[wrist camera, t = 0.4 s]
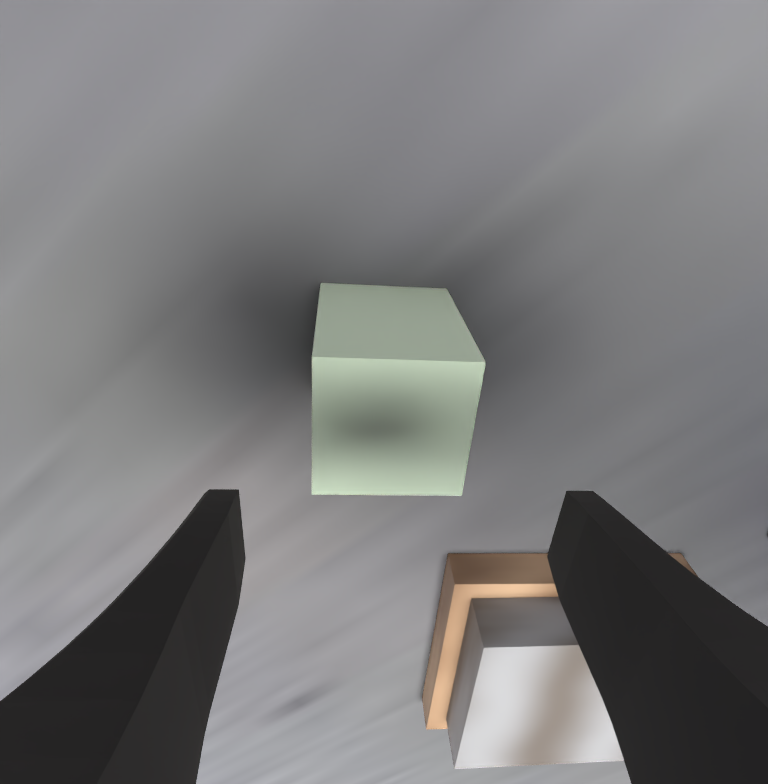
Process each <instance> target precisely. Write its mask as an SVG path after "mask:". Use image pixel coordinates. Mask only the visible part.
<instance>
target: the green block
mask: <svg viewBox="0 0 768 784" xmlns="http://www.w3.org/2000/svg"><path fill="white" fill-rule="evenodd" d="M485 365H486V362H485V360H484V358H483V356H482V354H481V352H480V350H479V348H478V347H477V345H476V343H475V341H474V339H473V337H472V335H471V333H470V331H469V330H468V328H467V326H466V324H465V322H464V320H463V318H462V316H461V314H460V313H459V311H458V309H457V307H456V305H455V303H454V301H453V299H452V297H451V296H450V294H449V292H448V290H447V289H445V288H423V287H401V286H379V285H357V284H336V283H321V284H320V293H319V301H318V310H317V318H316V327H315V335H314V343H313V352H312V495H425V496H462V491H463V485H464V480H465V474H466V469H467V463H468V458H469V453H470V447H471V442H472V436H473V431H474V425H475V420H476V414H477V409H478V403H479V398H480V392H481V387H482V381H483V376H484V370H485Z"/></svg>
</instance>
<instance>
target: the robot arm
mask: <svg viewBox="0 0 768 784" xmlns="http://www.w3.org/2000/svg"><path fill="white" fill-rule="evenodd" d="M547 558H548V562H549V566H550V569H551V573H552V577H553V580H554V584H555V587H556V590H557V593H558V597H559V600H560V602H561V605H562V607H563V610H564V612H565V614H566V617H567V619H568V621H569V624H570V626H571V628H572V631H573V633H574V635H575V638H576V640H577V642H578V644H579V647H580V649H581V651H582V654H583V656H584V658H585V660H586V663H587V665H588V667H589V670H590V672H591V674H592V676H593V679H594V681H595V683H596V686H597V688H598V690H599V692H600V695H601V697H602V699H603V702H604V704H605V707H606V710H607V712H608V715H609V717H610V720H611V722H612V725H613V728H614V731H615V734H616V737H617V740H618V743H619V746H620V749H621V752H622V755H623V758H624V761H625V764H626V768H627V771H628V774H629V777H630V780H631V783H632V784H768V627H767V626H766V625H764V624H763V623H761V622H760V621H758V620H757V619H755V618H754V617H752V616H751V615H749V614H748V613H746V612H745V611H743V610H742V609H741V608H739V607H738V606H736V605H735V604H733V603H732V602H731V601H729V600H728V599H726V598H725V597H724V596H722V595H721V594H720V593H718V592H717V591H716V590H714V589H713V588H712V587H710V586H709V585H708V584H706V583H705V582H704V581H702V580H701V579H700V578H698V577H697V576H696V575H694V574H693V573H692V572H691V571H689V570H688V569H687V568H686V567H684V566H683V565H682V564H681V563H679V562H678V561H677V560H676V559H674V558H673V557H672V556H671V555H669V554H668V553H667V552H666V551H664V550H663V549H662V548H661V547H660V546H658V545H657V544H656V543H655V542H654V541H652V540H651V539H650V538H649V537H648V536H646V535H645V534H644V533H643V532H642V531H641V530H639V529H638V528H637V527H636V526H635V525H633V524H632V523H631V522H630V521H629V520H628V519H626V518H625V517H624V516H623V515H622V514H620V513H619V512H618V511H617V510H616V509H615V508H613V507H612V506H611V505H610V504H609V503H607V502H606V501H605V500H604V499H602V498H601V497H600V496H599V495H597V494H596V493H595V492H593V491H566V495H565V498H564V501H563V505H562V508H561V511H560V515H559V518H558V521H557V525H556V528H555V532H554V535H553V538H552V542H551V545H550V548H549V552H548V555H547ZM244 565H245V550H244V539H243V529H242V519H241V509H240V498H239V490H211V489H209V490H208V491H207V492H206V493H205V494H204V495H203V496H202V498H201V499H200V500H199V502H198V503H197V504H196V506H195V507H194V508H193V510H192V511H191V512H190V514H189V515H188V516H187V518H186V519H185V520H184V521H183V523H182V524H181V525H180V526H179V528H178V529H177V530H176V531H175V533H174V534H173V535H172V536H171V538H170V539H169V540H168V541H167V542H166V543H165V545H164V546H163V547H162V548H161V549H160V550H159V552H158V553H157V554H156V555H155V556H154V558H153V559H152V560H151V561H150V562H149V563H148V565H147V566H146V567H145V568H144V569H143V570H142V571H141V572H140V573H139V574H138V576H137V577H136V578H135V579H134V580H133V581H132V582H131V583H130V584H129V585H128V586H127V587H126V588H125V589H124V590H123V591H122V593H121V594H120V595H119V596H118V597H117V598H116V599H115V600H114V601H113V602H112V603H111V604H110V605H109V606H108V607H107V608H106V609H105V610H104V611H103V612H102V613H101V614H100V615H99V616H98V617H97V618H96V619H95V620H94V621H93V622H92V623H91V624H90V625H89V626H88V627H87V628H85V629H84V630H83V631H82V632H81V633H80V634H79V635H78V636H77V637H76V638H75V639H73V640H72V641H71V642H70V643H69V644H68V645H67V646H66V647H65V648H64V649H62V650H61V651H60V652H59V653H58V654H57V655H55V656H54V657H53V658H52V659H51V660H50V661H48V662H47V663H46V664H45V665H44V666H43V667H41V668H40V669H39V670H38V671H37V672H36V673H34V674H33V675H32V676H31V677H30V678H28V679H27V680H26V681H25V682H24V683H22V684H21V685H20V686H19V687H17V688H16V689H15V690H14V691H12V692H11V693H10V694H9V695H7V696H6V697H5V698H4V699H2V700H1V701H0V784H196V779H197V774H198V768H199V763H200V757H201V751H202V746H203V740H204V735H205V731H206V726H207V722H208V718H209V713H210V709H211V706H212V702H213V698H214V694H215V691H216V687H217V683H218V680H219V676H220V672H221V668H222V665H223V661H224V657H225V654H226V650H227V646H228V643H229V639H230V635H231V631H232V627H233V624H234V620H235V616H236V612H237V608H238V605H239V598H240V592H241V586H242V579H243V572H244Z"/></svg>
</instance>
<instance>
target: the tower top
mask: <svg viewBox="0 0 768 784" xmlns="http://www.w3.org/2000/svg"><path fill="white" fill-rule="evenodd" d="M446 722H447V728H448V734H449V740H450V746H451V752H452V758H453V764H454V769H464V768H484V767H504V766H525V765H545V764H565V763H586V762H606V761H624V758H623V755H622V752H621V749H620V746H619V743H618V740H617V737H616V734H615V731H614V728H613V725H612V722H611V720H610V717H609V715H608V712H607V710H606V707H605V704H604V702H603V699H602V697H601V695H600V692H599V690H598V688H597V686H596V683H595V681H594V679H593V676H592V674H591V672H590V670H589V667H588V665H587V663H586V660H585V658H584V656H583V654H582V651H581V649H580V647H579V644H578V642H577V640H576V638H575V635H574V633H573V631H572V628H571V626H570V624H569V621H568V619H567V617H566V614H565V612H564V610H563V607H562V605H561V602H560V600H559V597H525V598H474V599H471V602H470V607H469V612H468V617H467V622H466V626H465V631H464V636H463V641H462V645H461V650H460V655H459V660H458V664H457V669H456V674H455V679H454V684H453V688H452V693H451V698H450V703H449V707H448V712H447V717H446Z"/></svg>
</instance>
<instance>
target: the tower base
mask: <svg viewBox="0 0 768 784" xmlns="http://www.w3.org/2000/svg"><path fill="white" fill-rule="evenodd" d="M668 554H669V555H671V556H672V557H673V558H674V559H676V560H677V561H678V562H679V563H681V564H682V565H683V566H684V567H686V568H687V569H688V570H689V571H691V572H692V573H693V574H694V575H696V573H695V572H694V570H693V569H692V568H691V566H690V565H689V564H688V562H687V561H686V560H685V558H684V557H683V555H682V554H681V553H668ZM547 555H548V553H448V556H447V561H446V567H445V572H444V578H443V584H442V589H441V595H440V600H439V606H438V611H437V617H436V623H435V628H434V634H433V639H432V645H431V651H430V656H429V662H428V667H427V673H426V679H425V684H424V690H423V695H422V701H423V708H424V716H425V723H426V729H448V728H447V722H446V717H447V712H448V707H449V703H450V698H451V693H452V688H453V684H454V679H455V674H456V669H457V664H458V660H459V655H460V650H461V645H462V641H463V636H464V631H465V626H466V622H467V617H468V612H469V607H470V602H471V599H474V598H525V597H558V593H557V590H556V587H555V584H554V580H553V577H552V573H551V569H550V566H549V562H548V558H547ZM696 576H697V575H696ZM697 577H698V576H697ZM698 578H699V577H698Z"/></svg>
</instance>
